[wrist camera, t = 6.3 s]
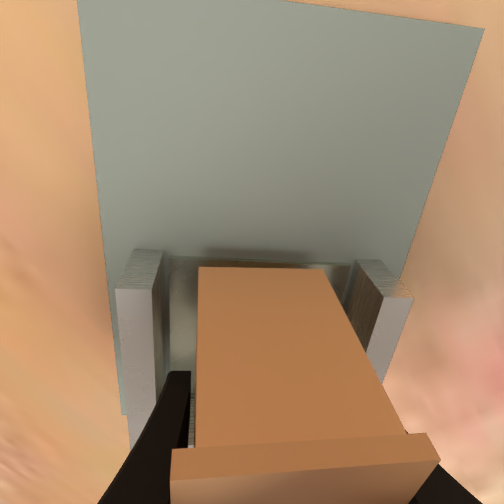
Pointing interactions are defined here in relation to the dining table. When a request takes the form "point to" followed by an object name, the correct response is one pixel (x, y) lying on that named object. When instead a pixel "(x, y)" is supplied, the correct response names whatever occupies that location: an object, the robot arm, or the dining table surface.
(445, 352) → the dining table surface
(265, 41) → the deck plate
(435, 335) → the dining table surface
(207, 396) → the chute block
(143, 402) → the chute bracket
